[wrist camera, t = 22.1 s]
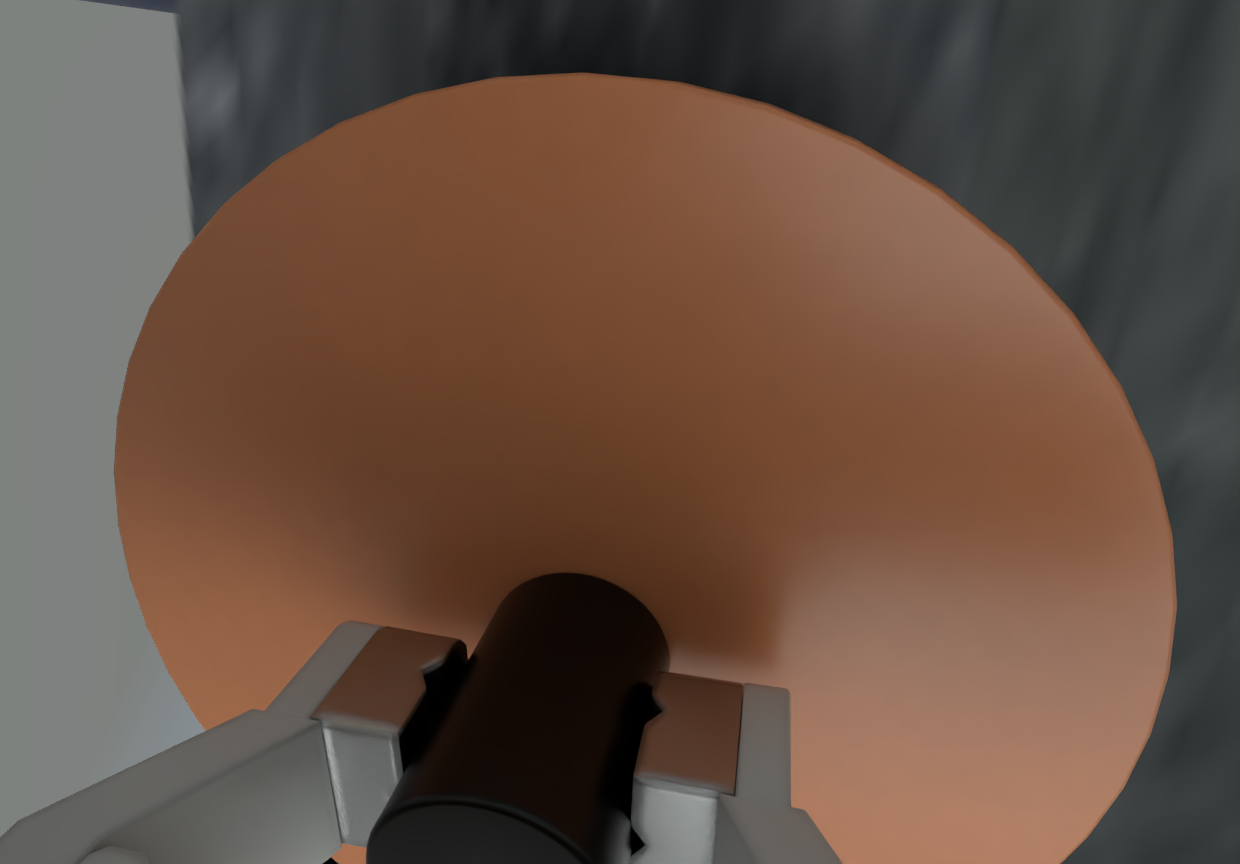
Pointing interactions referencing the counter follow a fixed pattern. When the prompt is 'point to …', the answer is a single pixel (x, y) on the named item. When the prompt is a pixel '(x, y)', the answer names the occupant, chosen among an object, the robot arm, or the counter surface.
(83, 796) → the robot arm
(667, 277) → the lid
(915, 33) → the counter surface
